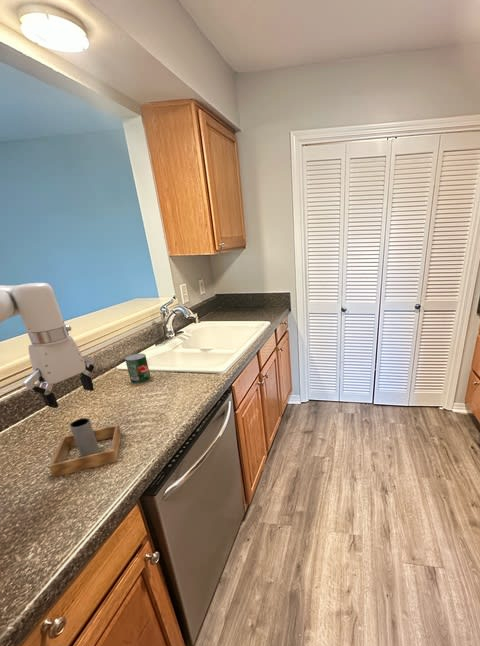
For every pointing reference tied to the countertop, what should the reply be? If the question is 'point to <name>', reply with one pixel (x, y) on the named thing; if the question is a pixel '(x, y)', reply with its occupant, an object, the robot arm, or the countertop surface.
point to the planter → (84, 437)
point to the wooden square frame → (74, 465)
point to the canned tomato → (138, 368)
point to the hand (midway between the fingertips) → (72, 398)
